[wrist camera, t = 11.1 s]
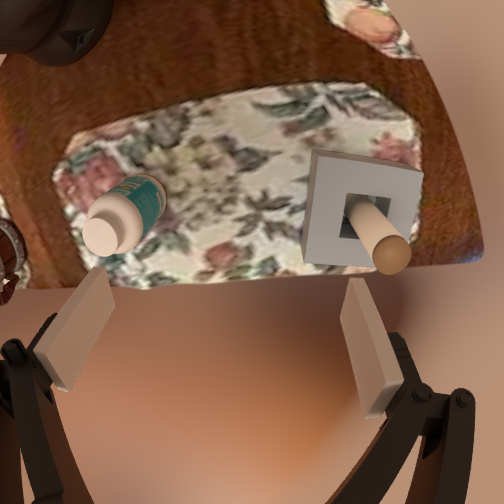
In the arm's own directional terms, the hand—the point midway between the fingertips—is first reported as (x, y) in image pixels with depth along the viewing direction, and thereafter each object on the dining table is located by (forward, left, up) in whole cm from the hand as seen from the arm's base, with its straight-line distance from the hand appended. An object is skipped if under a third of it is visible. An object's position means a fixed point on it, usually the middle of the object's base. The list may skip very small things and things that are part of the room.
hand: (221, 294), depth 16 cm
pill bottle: (+4, -15, -27) cm, 31 cm away
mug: (+15, -48, -27) cm, 57 cm away
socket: (+3, +15, -27) cm, 31 cm away
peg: (+3, +15, -27) cm, 31 cm away
